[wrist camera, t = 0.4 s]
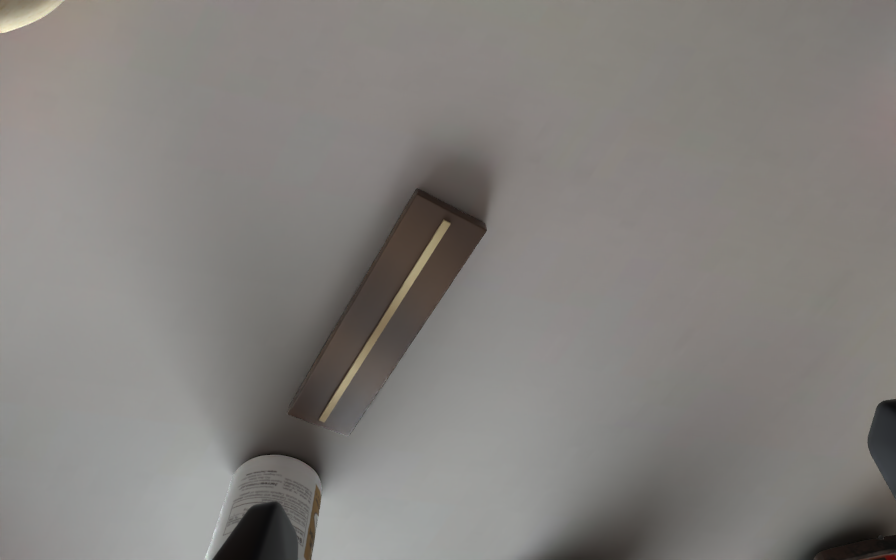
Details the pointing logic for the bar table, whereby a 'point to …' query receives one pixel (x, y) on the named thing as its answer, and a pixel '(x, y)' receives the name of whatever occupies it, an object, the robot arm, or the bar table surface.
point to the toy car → (862, 550)
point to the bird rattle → (23, 12)
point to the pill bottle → (272, 498)
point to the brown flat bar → (387, 312)
